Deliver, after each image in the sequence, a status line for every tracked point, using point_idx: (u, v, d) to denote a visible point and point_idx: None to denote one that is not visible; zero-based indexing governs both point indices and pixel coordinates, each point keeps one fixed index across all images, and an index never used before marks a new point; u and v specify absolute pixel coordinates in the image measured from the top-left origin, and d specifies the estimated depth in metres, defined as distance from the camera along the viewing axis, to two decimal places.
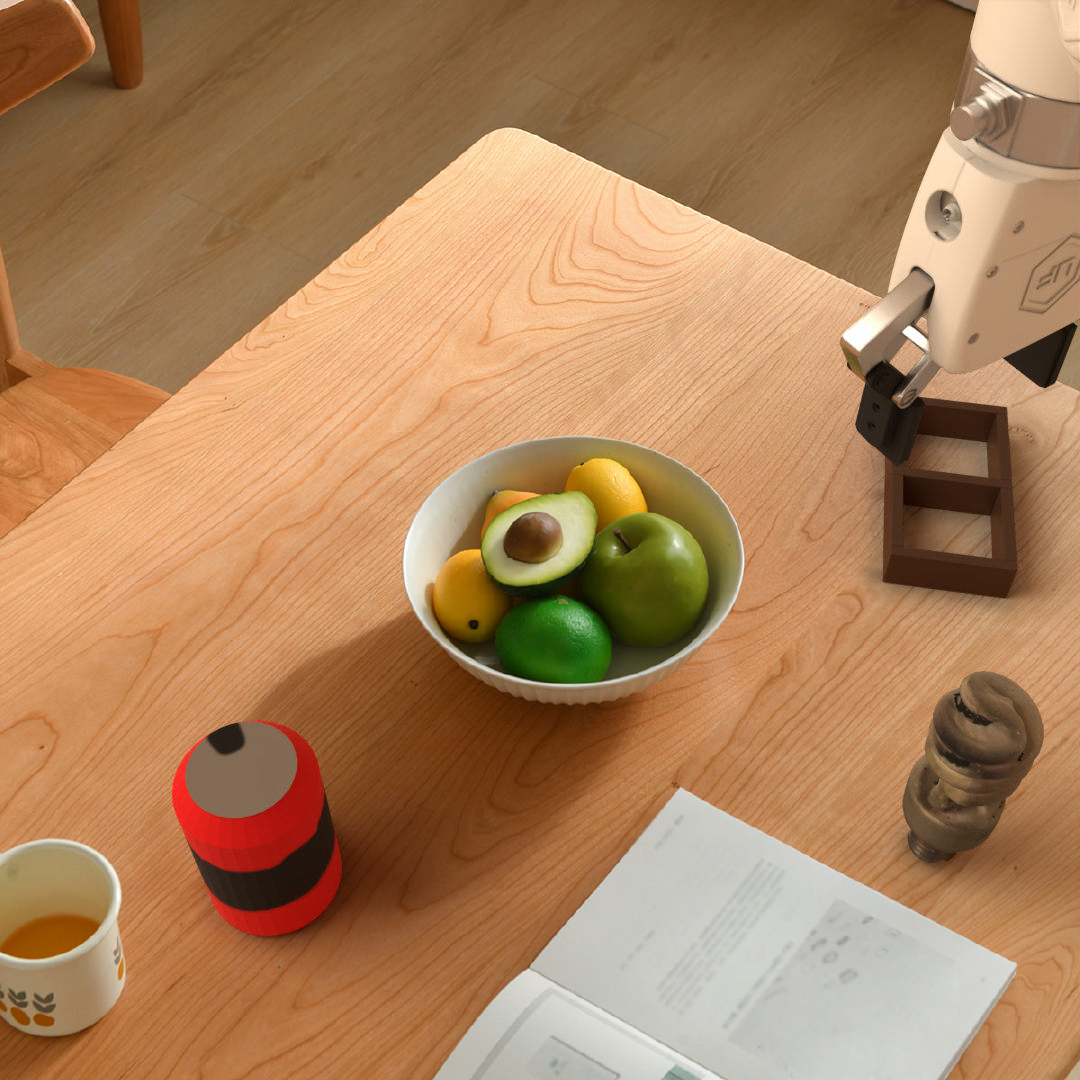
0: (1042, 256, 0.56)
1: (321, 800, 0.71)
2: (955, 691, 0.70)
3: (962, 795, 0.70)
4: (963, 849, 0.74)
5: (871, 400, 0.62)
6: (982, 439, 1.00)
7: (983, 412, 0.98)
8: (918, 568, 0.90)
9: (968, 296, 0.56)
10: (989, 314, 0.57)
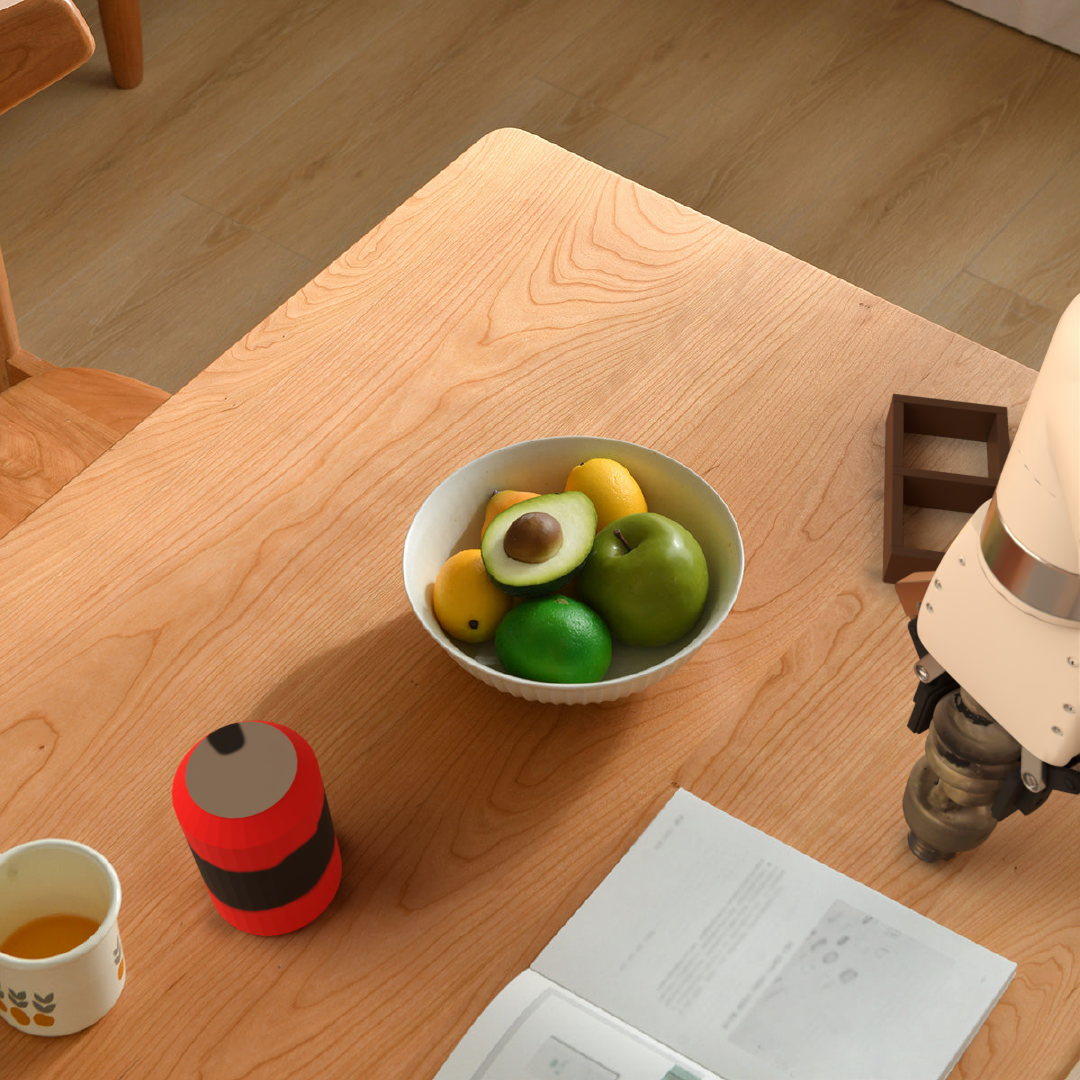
0: None
1: (321, 800, 0.71)
2: (955, 691, 0.70)
3: (962, 795, 0.70)
4: (963, 850, 0.74)
5: (1040, 791, 0.67)
6: (982, 439, 1.00)
7: (983, 412, 0.98)
8: (918, 568, 0.90)
9: None
10: None
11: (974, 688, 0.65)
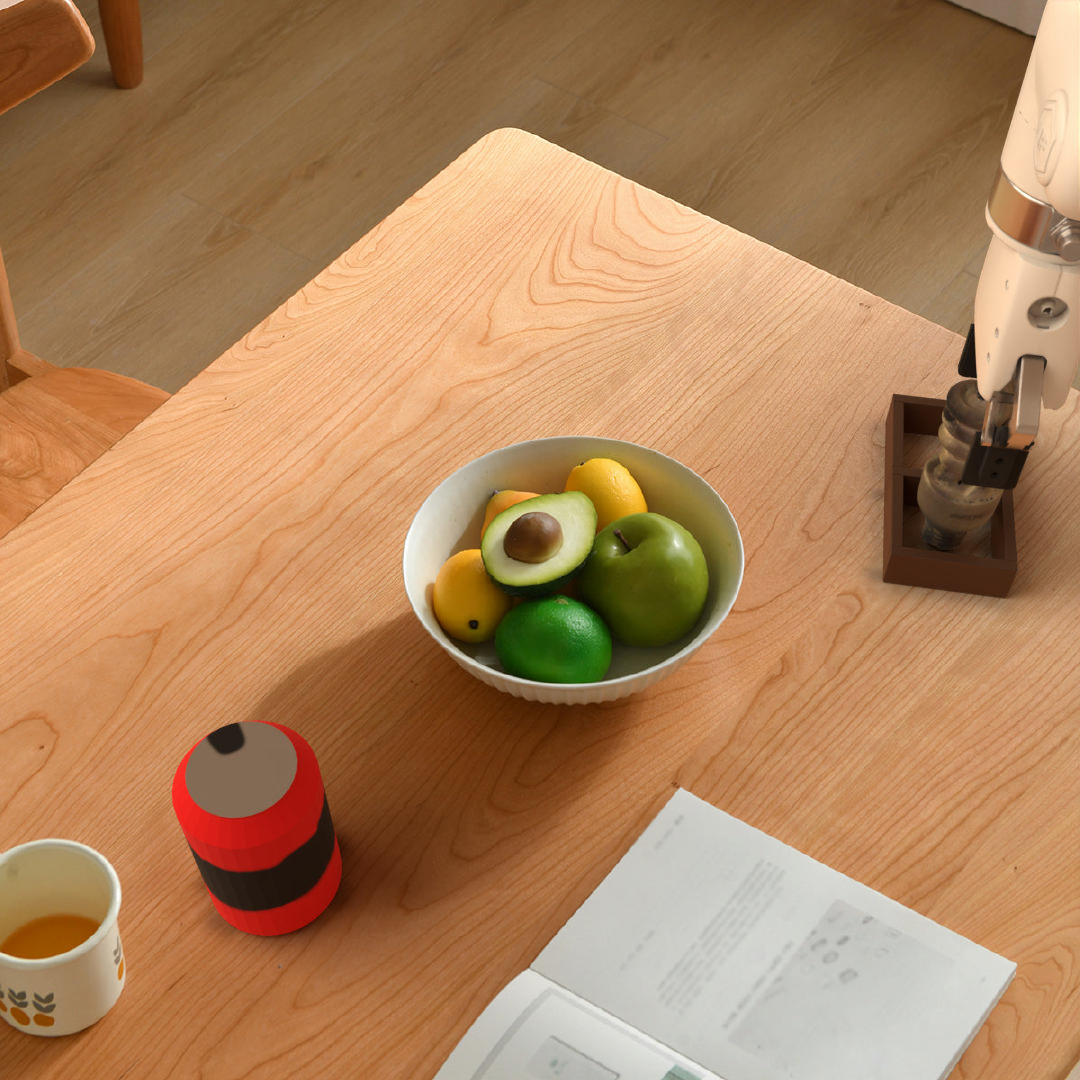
0: None
1: (321, 800, 0.71)
2: None
3: (945, 456, 0.86)
4: (940, 522, 0.89)
5: (993, 458, 0.79)
6: None
7: None
8: (918, 568, 0.90)
9: (1078, 355, 0.74)
10: None
11: (976, 334, 0.80)
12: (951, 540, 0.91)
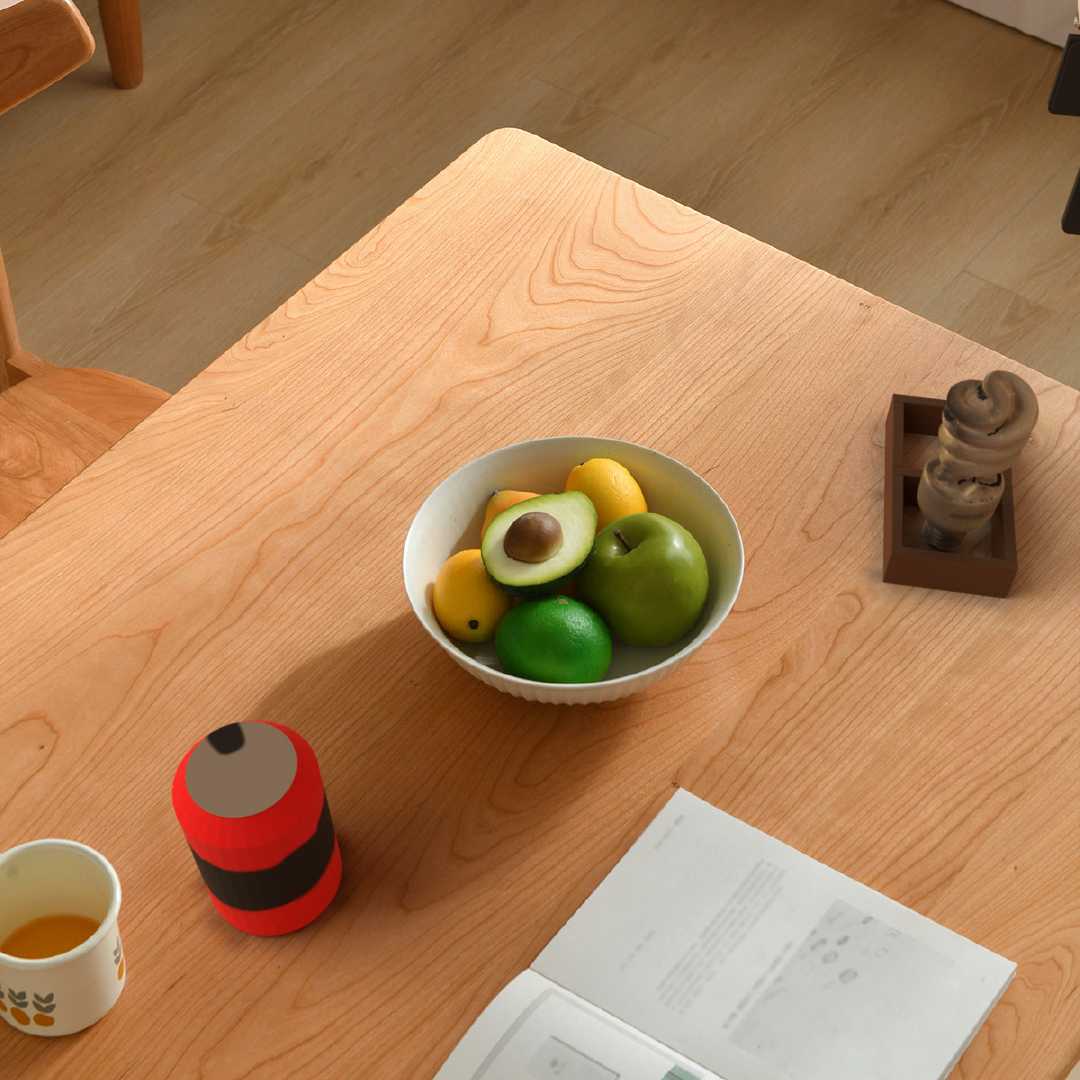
0: None
1: (321, 800, 0.71)
2: None
3: (945, 456, 0.86)
4: (940, 522, 0.89)
5: None
6: None
7: None
8: (918, 568, 0.90)
9: None
10: None
11: None
12: (951, 540, 0.91)
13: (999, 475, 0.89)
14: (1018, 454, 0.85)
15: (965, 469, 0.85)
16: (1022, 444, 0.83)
